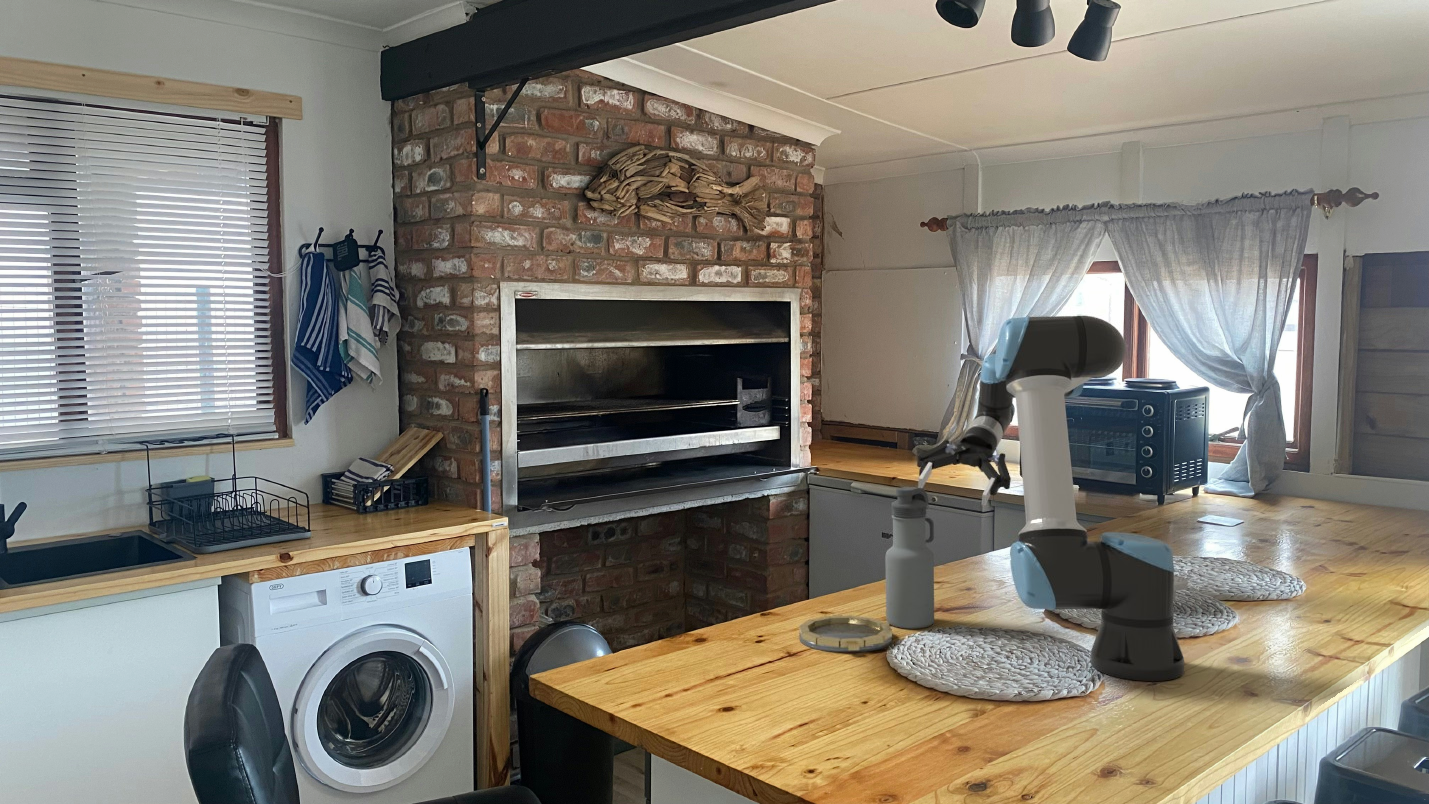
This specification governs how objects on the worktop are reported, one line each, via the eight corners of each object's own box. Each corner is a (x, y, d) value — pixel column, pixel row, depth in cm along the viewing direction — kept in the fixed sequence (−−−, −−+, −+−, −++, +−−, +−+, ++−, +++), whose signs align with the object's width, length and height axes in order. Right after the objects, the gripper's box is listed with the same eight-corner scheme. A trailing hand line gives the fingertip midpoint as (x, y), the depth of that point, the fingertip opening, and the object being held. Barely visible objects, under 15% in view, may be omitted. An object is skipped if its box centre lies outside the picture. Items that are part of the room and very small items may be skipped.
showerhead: (1132, 569, 222) (1181, 570, 220) (1132, 601, 222) (1181, 603, 220) (1141, 579, 212) (1192, 580, 210) (1141, 613, 213) (1192, 614, 211)
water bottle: (901, 613, 217) (900, 483, 215) (943, 620, 210) (942, 486, 209) (877, 624, 209) (875, 489, 207) (920, 632, 202) (918, 493, 201)
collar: (902, 654, 189) (902, 642, 189) (805, 657, 188) (805, 645, 188) (881, 622, 210) (880, 611, 210) (794, 624, 210) (794, 614, 210)
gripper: (1035, 467, 224) (1009, 521, 208) (926, 441, 235) (893, 491, 219) (1039, 438, 220) (1013, 492, 205) (928, 413, 231) (895, 462, 215)
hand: (951, 491), depth 212 cm, fingers open, 13 cm apart
